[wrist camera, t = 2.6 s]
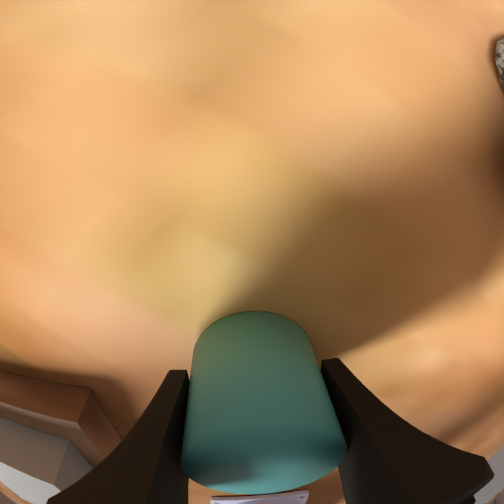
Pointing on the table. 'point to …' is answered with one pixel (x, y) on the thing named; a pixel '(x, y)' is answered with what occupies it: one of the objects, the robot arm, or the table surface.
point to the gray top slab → (37, 462)
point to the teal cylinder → (258, 408)
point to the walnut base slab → (59, 413)
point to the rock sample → (500, 59)
